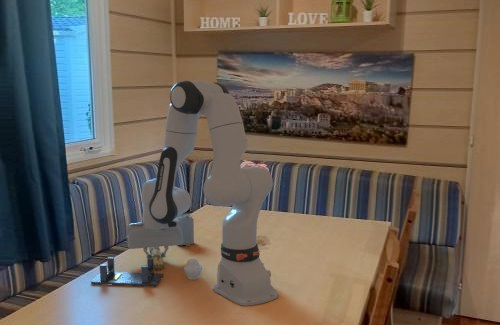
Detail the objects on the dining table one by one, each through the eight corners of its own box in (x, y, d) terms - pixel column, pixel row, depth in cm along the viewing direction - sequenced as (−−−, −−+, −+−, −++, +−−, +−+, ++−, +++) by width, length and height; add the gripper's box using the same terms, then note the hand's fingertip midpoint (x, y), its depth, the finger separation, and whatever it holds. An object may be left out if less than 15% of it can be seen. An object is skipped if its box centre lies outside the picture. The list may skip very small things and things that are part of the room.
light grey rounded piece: (185, 282, 166) (185, 262, 165) (182, 275, 172) (182, 256, 171) (203, 280, 168) (203, 261, 167) (200, 273, 174) (200, 254, 173)
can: (192, 246, 202) (192, 218, 200) (174, 246, 202) (173, 218, 200) (195, 240, 209) (194, 213, 207) (177, 240, 209) (176, 213, 207)
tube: (164, 270, 177) (163, 259, 177) (152, 271, 176) (152, 260, 176) (159, 253, 194) (159, 243, 194) (149, 254, 193) (148, 244, 193)
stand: (163, 276, 172) (162, 258, 171) (156, 286, 163) (155, 268, 162) (101, 274, 174) (100, 256, 173) (91, 284, 165) (90, 265, 164)
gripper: (126, 226, 177) (127, 263, 179) (183, 222, 182) (184, 258, 185) (125, 221, 183) (127, 257, 185) (181, 217, 188) (182, 252, 191)
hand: (156, 257), depth 185 cm, fingers closed on tube, 4 cm apart
